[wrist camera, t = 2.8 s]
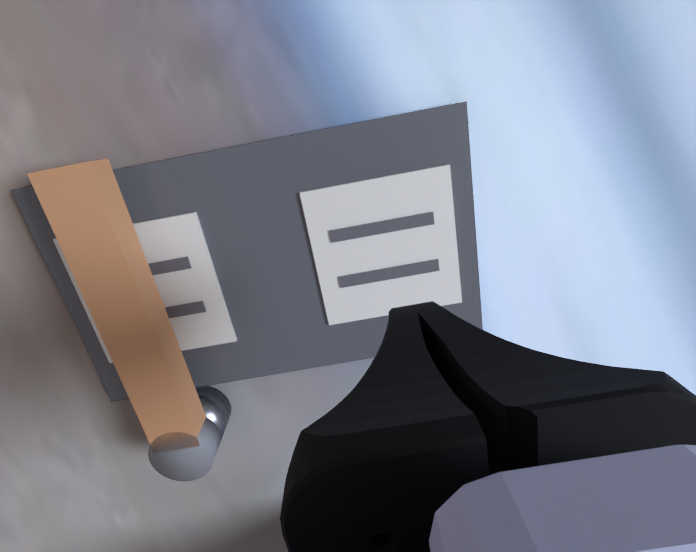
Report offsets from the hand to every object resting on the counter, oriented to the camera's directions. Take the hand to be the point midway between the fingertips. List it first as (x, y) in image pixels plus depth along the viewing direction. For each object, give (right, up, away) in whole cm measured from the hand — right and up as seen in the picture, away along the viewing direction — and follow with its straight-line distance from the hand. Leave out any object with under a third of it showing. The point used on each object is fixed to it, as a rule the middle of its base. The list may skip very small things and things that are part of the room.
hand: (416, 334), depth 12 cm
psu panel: (-6, +2, +9) cm, 11 cm away
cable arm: (-12, -1, +8) cm, 14 cm away
